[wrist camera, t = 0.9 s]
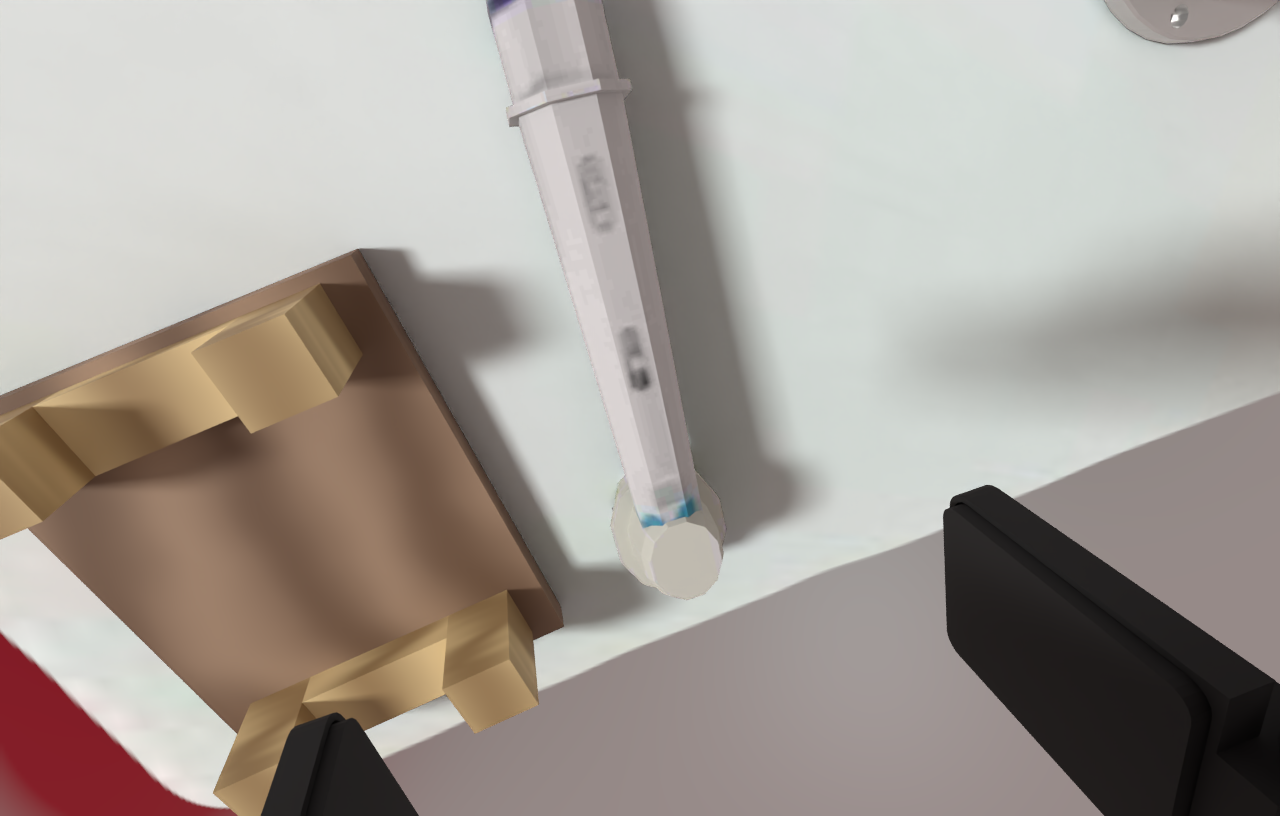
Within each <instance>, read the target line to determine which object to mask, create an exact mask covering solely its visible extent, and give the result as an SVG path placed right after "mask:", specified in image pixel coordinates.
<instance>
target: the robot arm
mask: <svg viewBox="0 0 1280 816" xmlns="http://www.w3.org/2000/svg"><path fill="white" fill-rule="evenodd" d="M1104 1H1105V2H1106V4H1107V6H1108V8H1109V9H1110V11H1111V12H1112V13H1113V14H1114V16H1115V17H1116V18H1117V19H1118V20H1119V21H1120V22H1121V23H1122V24H1123V25H1124V26H1125V27H1126V28H1127V29H1129V30H1131V31H1133V32H1134V33H1136V34H1138V35H1140V36H1141V37H1143V38H1145V39H1148V40H1153V41H1157V42H1162V43H1166V44H1169V43H1186V42H1194V41H1200V40H1205V39H1211V38H1216V37H1220V36H1222V35H1225V34H1227V33H1229V32H1232V31H1234V30H1237V29H1239V28H1241V27H1243V26H1245V25H1246V24H1248V23H1249V22H1251V21H1252V20H1254V19H1256V18H1257V17H1259V16H1260V15H1262V14H1263V13H1265V12H1266V11H1267V10H1269V9H1270V8H1271V7H1272V6H1273V5H1274V4H1275V3H1276V2H1277V1H1279V0H1104ZM943 525H944V556H945V585H946V616H947V633H948V636H949V640H950V642H951V644H952V646H953V647H954V649H955V651H956V652H957V653H958V654H959V656H960V657H961V658H962V659H963V660H964V661H965V662H966V663H967V664H968V665H969V667H971V669H972V670H973V671H974V672H975V673H976V674H977V675H978V676H979V678H980V679H981V680H982V681H983V682H984V683H985V684H986V685H987V687H988V688H989V689H990V690H991V691H992V692H993V693H994V694H995V695H996V696H997V697H998V699H999V700H1000V701H1001V702H1002V703H1003V704H1004V705H1005V706H1006V708H1007V709H1008V710H1009V711H1010V712H1011V713H1012V714H1013V715H1014V716H1015V717H1016V719H1017V720H1018V721H1019V722H1020V723H1021V724H1022V725H1023V726H1024V727H1025V729H1027V731H1028V732H1029V733H1030V734H1031V735H1032V736H1033V737H1034V738H1035V739H1036V741H1037V742H1038V743H1039V744H1040V745H1041V746H1042V747H1043V748H1044V750H1045V751H1046V752H1047V753H1048V754H1049V755H1050V756H1051V757H1052V758H1053V759H1054V761H1055V762H1056V763H1057V764H1058V765H1059V766H1060V767H1061V768H1062V769H1063V771H1064V772H1065V773H1066V774H1067V775H1068V776H1069V777H1070V778H1071V779H1072V781H1074V783H1075V784H1076V785H1077V786H1078V787H1079V788H1080V789H1081V790H1082V792H1083V793H1084V794H1085V795H1086V796H1087V797H1088V798H1089V799H1090V800H1091V802H1092V803H1093V804H1094V805H1095V806H1096V807H1097V808H1098V809H1099V810H1100V811H1101V813H1102V814H1103V815H1104V816H1280V684H1279V683H1277V682H1276V681H1275V680H1274V679H1272V678H1271V677H1270V676H1268V675H1267V674H1265V673H1264V672H1262V671H1261V670H1259V669H1258V668H1256V667H1255V666H1254V665H1252V664H1251V663H1249V662H1248V661H1246V660H1245V659H1244V658H1242V657H1241V656H1239V655H1238V654H1236V653H1235V652H1233V651H1232V650H1231V649H1229V648H1228V647H1226V646H1225V645H1223V644H1222V643H1220V642H1219V641H1218V640H1216V639H1215V638H1213V637H1212V636H1210V635H1209V634H1207V633H1206V632H1205V631H1203V630H1202V629H1200V628H1199V627H1197V626H1196V625H1194V624H1193V623H1192V622H1190V621H1189V620H1187V619H1186V618H1184V617H1183V616H1181V615H1180V614H1179V613H1177V612H1176V611H1174V610H1173V609H1171V608H1170V607H1168V606H1167V605H1166V604H1164V603H1163V602H1161V601H1160V600H1158V599H1157V598H1155V597H1154V596H1153V595H1151V594H1150V593H1148V592H1147V591H1145V590H1144V589H1143V588H1141V587H1140V586H1138V585H1137V584H1135V583H1134V582H1132V581H1131V580H1130V579H1128V578H1127V577H1125V576H1124V575H1122V574H1121V573H1119V572H1118V571H1117V570H1115V569H1114V568H1112V567H1111V566H1109V565H1108V564H1106V563H1105V562H1103V561H1102V560H1101V559H1099V558H1098V557H1096V556H1095V555H1093V554H1092V553H1091V552H1089V551H1088V550H1086V549H1085V548H1083V547H1082V546H1080V545H1079V544H1078V543H1076V542H1075V541H1073V540H1072V539H1070V538H1069V537H1067V536H1066V535H1065V534H1063V533H1062V532H1060V531H1059V530H1057V529H1056V528H1054V527H1053V526H1052V525H1050V524H1049V523H1047V522H1046V521H1044V520H1043V519H1041V518H1040V517H1039V516H1037V515H1036V514H1034V513H1033V512H1031V511H1030V510H1028V509H1027V508H1026V507H1024V506H1023V505H1021V504H1020V503H1018V502H1017V501H1015V500H1014V499H1013V498H1011V497H1010V496H1008V495H1007V494H1005V493H1004V492H1002V491H1001V490H1000V489H998V488H996V487H994V486H992V485H985V486H982V487H979V488H976V489H973V490H971V491H968V492H965V493H962V494H959V495H956V496H954V497H953V498H952V499H951V501H950V508H948V509H946V510H945V511H944V514H943ZM261 816H419V815H418V814H417V812H416V811H415V809H414V808H413V806H412V804H411V803H410V802H409V800H408V798H407V797H406V795H405V794H404V792H403V790H402V789H401V787H400V786H399V784H398V783H397V781H396V780H395V778H394V777H393V775H392V774H391V772H390V770H389V769H388V767H387V766H386V764H385V763H384V761H383V760H382V758H381V756H380V755H379V753H378V752H377V750H376V749H375V747H374V746H373V744H372V743H371V741H370V739H369V738H368V736H367V735H366V733H365V732H364V730H363V729H362V727H361V726H360V724H359V723H358V721H357V720H356V719H354V718H349V719H345V718H344V717H343V716H342V715H341V714H339V713H337V712H335V713H331V714H329V715H326V716H323V717H320V718H317V719H314V720H311V721H309V722H306V723H303V724H300V725H297V726H295V727H294V728H293V729H292V730H291V731H290V733H289V735H288V737H287V739H286V742H285V745H284V748H283V751H282V754H281V757H280V760H279V763H278V766H277V769H276V772H275V775H274V778H273V781H272V784H271V787H270V790H269V793H268V796H267V798H266V801H265V804H264V807H263V810H262V813H261Z"/></svg>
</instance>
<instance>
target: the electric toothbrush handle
mask: <svg viewBox="0 0 1280 816" xmlns="http://www.w3.org/2000/svg"><path fill="white" fill-rule="evenodd" d="M486 4H487V12H488V15H489V19H490V23H491V26H492V30H493V34H494V37H495V41H496V44H497V48H498V52H499V55H500V59H501V63H502V66H503V70H504V73H505V77H506V81H507V84H508V88H509V92H510V95H511V99H512V102H513V105H511V106H509V107H506V113H507V119H508V123H509V127H514V126H519V127H520V131H521V134H522V137H523V141H524V144H525V147H526V151H527V154H528V157H529V160H530V164H531V167H532V170H533V174H534V177H535V180H536V183H537V187H538V190H539V193H540V197H541V200H542V203H543V206H544V210H545V213H546V216H547V220H548V223H549V226H550V230H551V233H552V236H553V239H554V243H555V246H556V249H557V253H558V256H559V259H560V262H561V266H562V269H563V272H564V276H565V279H566V282H567V286H568V289H569V292H570V295H571V299H572V302H573V305H574V309H575V312H576V315H577V318H578V322H579V325H580V328H581V332H582V335H583V338H584V342H585V345H586V348H587V351H588V355H589V358H590V361H591V365H592V368H593V371H594V374H595V378H596V381H597V384H598V388H599V391H600V394H601V398H602V401H603V404H604V407H605V411H606V414H607V417H608V421H609V424H610V427H611V430H612V434H613V437H614V440H615V444H616V447H617V450H618V453H619V457H620V460H621V463H622V467H623V470H624V473H625V476H624V477H623V478H622V479H621V480H620V482H619V483H618V489H617V494H616V498H615V503H614V507H613V508H612V510H613V515H612V519H611V524H610V526H611V530H612V533H613V537H614V540H615V544H616V547H617V551H618V554H619V557H620V561H621V563H622V564H623V565H624V566H625V567H626V568H627V569H628V570H629V571H630V572H631V573H632V574H633V575H634V576H635V577H636V578H637V579H638V580H639V581H640V582H641V583H642V584H643V585H647V586H651V587H655V588H658V589H659V590H660V591H661V592H662V593H663V594H666V595H668V596H672V597H676V598H680V599H684V600H689V599H692V598H695V597H698V596H701V595H704V594H705V593H706V592H707V591H708V590H709V589H710V588H711V586H712V585H713V584H714V583H715V582H716V581H717V579H718V575H719V571H720V567H721V564H722V559H723V554H724V553H723V548H722V545H723V541H724V537H725V533H726V525H725V521H724V516H723V512H722V507H721V503H720V499H719V497H718V496H717V494H716V493H715V492H714V491H713V490H712V489H711V487H710V486H709V485H708V484H707V483H706V482H705V481H704V479H703V478H702V477H701V476H700V475H699V474H698V473H697V471H696V470H695V469H694V463H693V458H692V453H691V448H690V442H689V437H688V432H687V427H686V422H685V416H684V411H683V406H682V401H681V396H680V390H679V385H678V380H677V375H676V369H675V364H674V359H673V354H672V349H671V343H670V338H669V333H668V328H667V323H666V317H665V312H664V307H663V302H662V296H661V291H660V286H659V281H658V276H657V270H656V265H655V260H654V255H653V250H652V244H651V239H650V234H649V229H648V223H647V218H646V213H645V208H644V203H643V197H642V192H641V187H640V182H639V177H638V171H637V166H636V161H635V156H634V151H633V145H632V140H631V135H630V130H629V124H628V119H627V114H626V109H625V104H624V99H625V98H626V97H627V95H628V94H629V93H630V92H631V90H632V86H631V82H630V79H619V75H618V71H617V67H616V62H615V58H614V53H613V49H612V44H611V40H610V36H609V31H608V27H607V22H606V18H605V13H604V9H603V5H602V0H486Z"/></svg>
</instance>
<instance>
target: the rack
mask: <svg viewBox="0 0 1280 816" xmlns="http://www.w3.org/2000/svg"><path fill="white" fill-rule="evenodd" d="M26 528H28V529H29V530H30V531H31V532H32V533H33V534H34V535H35V536H36V537H37V538H38V539H39V540H40V541H41V542H42V543H43V544H44V545H45V546H46V547H47V548H48V549H49V550H50V551H51V552H52V553H53V554H54V555H55V556H56V557H57V558H58V559H59V560H60V561H61V562H62V563H64V564H65V565H66V566H67V567H68V568H69V569H70V570H71V571H72V572H73V573H74V574H75V575H76V576H77V577H78V578H79V579H80V580H81V581H82V582H83V583H84V584H85V585H86V586H87V587H88V588H89V589H90V590H91V591H92V592H93V593H94V594H95V595H96V596H97V597H98V598H99V599H100V600H101V601H102V602H103V603H104V604H105V605H106V606H107V607H108V608H109V609H110V610H111V611H112V612H113V613H114V614H115V615H116V616H118V617H119V618H120V619H121V620H122V621H123V622H124V623H125V624H126V625H127V626H128V627H129V628H130V629H131V630H132V631H133V632H134V633H135V634H136V635H137V636H138V637H139V638H140V639H141V640H142V641H143V642H144V643H145V644H146V645H147V646H148V647H149V648H150V649H151V650H152V651H153V652H154V653H155V654H156V655H157V656H158V657H159V658H160V659H161V660H162V661H163V662H164V663H165V664H166V665H167V666H168V667H169V668H171V669H172V670H173V671H174V672H175V673H176V674H177V675H178V676H179V677H180V678H181V679H182V680H183V681H184V682H185V683H186V684H187V685H188V686H189V687H190V688H191V689H192V690H193V691H194V692H195V693H196V694H197V695H198V696H199V697H200V698H201V699H202V700H203V701H204V702H205V703H206V704H207V705H208V706H209V707H210V708H211V709H212V710H213V711H214V712H215V713H216V714H217V715H218V716H219V717H220V718H221V719H222V720H223V721H225V722H226V723H227V724H228V725H229V726H230V727H231V728H232V729H233V730H234V731H235V732H236V733H237V737H236V739H235V741H234V744H233V746H232V749H231V751H230V753H229V756H228V758H227V760H226V763H225V765H224V768H223V770H222V772H221V775H220V777H219V779H218V782H217V784H216V787H215V789H214V791H213V794H214V795H216V796H217V797H218V798H219V799H220V800H221V801H222V802H223V803H225V804H226V805H227V806H228V807H229V808H230V809H231V810H232V811H234V812H235V813H236V814H237V815H238V816H261V813H262V810H263V807H264V804H265V801H266V798H267V796H268V793H269V790H270V787H271V784H272V781H273V778H274V775H275V772H276V769H277V766H278V763H279V760H280V757H281V754H282V751H283V748H284V745H285V742H286V739H287V737H288V735H289V733H290V731H291V730H292V729H293V728H294V727H295V726H297V725H300V724H303V723H306V722H309V721H311V720H314V719H317V718H320V717H323V716H326V715H329V714H331V713H335V712H337V713H339V714H341V715H342V716H343V717H344V718H345V719H349V718H354V719H356V720H357V721H358V723H359V724H360V726H361V727H362V729H363V730H364V731H365V730H367V729H369V728H372V727H374V726H376V725H378V724H381V723H383V722H385V721H387V720H389V719H392V718H394V717H396V716H398V715H401V714H403V713H405V712H407V711H409V710H412V709H414V708H416V707H418V706H421V705H423V704H425V703H427V702H429V701H432V700H434V699H436V698H438V697H440V696H443V695H445V694H446V695H447V697H448V698H449V699H450V701H451V702H452V704H453V705H454V706H455V708H456V709H457V710H458V712H459V713H460V714H461V716H462V717H463V718H464V720H465V721H466V722H467V724H468V725H469V726H470V728H471V729H472V730H473V732H474V733H478V732H480V731H482V730H484V729H486V728H488V727H491V726H493V725H495V724H497V723H500V722H502V721H504V720H506V719H508V718H510V717H513V716H515V715H517V714H519V713H522V712H524V711H526V710H528V709H530V708H533V707H535V706H537V705H539V701H538V690H537V678H536V667H535V656H534V644H533V640H535V639H537V638H540V637H542V636H544V635H546V634H548V633H551V632H553V631H555V630H557V629H560V628H562V627H564V624H563V617H562V611H561V606H560V604H559V602H558V601H557V599H556V597H555V595H554V594H553V592H552V590H551V588H550V587H549V585H548V583H547V581H546V579H545V578H544V576H543V574H542V572H541V571H540V569H539V567H538V565H537V564H536V562H535V560H534V558H533V557H532V555H531V553H530V551H529V549H528V548H527V546H526V544H525V542H524V541H523V539H522V537H521V535H520V534H519V532H518V530H517V528H516V526H515V525H514V523H513V521H512V519H511V518H510V516H509V514H508V512H507V511H506V509H505V507H504V505H503V503H502V502H501V500H500V498H499V496H498V495H497V493H496V491H495V489H494V488H493V486H492V484H491V482H490V481H489V479H488V477H487V475H486V473H485V472H484V470H483V468H482V466H481V465H480V463H479V461H478V459H477V458H476V456H475V454H474V452H473V450H472V449H471V447H470V445H469V443H468V442H467V440H466V438H465V436H464V435H463V433H462V431H461V429H460V427H459V426H458V424H457V422H456V420H455V419H454V417H453V415H452V413H451V412H450V410H449V408H448V406H447V405H446V403H445V401H444V399H443V397H442V396H441V394H440V392H439V390H438V389H437V387H436V385H435V383H434V382H433V380H432V378H431V376H430V374H429V373H428V371H427V369H426V367H425V366H424V364H423V362H422V360H421V359H420V357H419V355H418V353H417V351H416V350H415V348H414V346H413V344H412V343H411V341H410V339H409V337H408V336H407V334H406V332H405V330H404V329H403V327H402V325H401V323H400V321H399V320H398V318H397V316H396V314H395V313H394V311H393V309H392V307H391V306H390V304H389V302H388V300H387V298H386V297H385V295H384V293H383V291H382V290H381V288H380V286H379V284H378V283H377V281H376V279H375V277H374V275H373V274H372V272H371V270H370V268H369V267H368V265H367V263H366V261H365V260H364V258H363V256H362V254H361V253H360V251H359V249H356V250H354V251H351V252H349V253H346V254H344V255H341V256H339V257H336V258H334V259H332V260H329V261H327V262H324V263H322V264H319V265H317V266H315V267H312V268H310V269H307V270H305V271H302V272H300V273H298V274H295V275H293V276H290V277H288V278H285V279H283V280H281V281H278V282H276V283H273V284H271V285H268V286H266V287H263V288H261V289H259V290H256V291H254V292H251V293H249V294H246V295H244V296H242V297H239V298H237V299H234V300H232V301H229V302H227V303H225V304H222V305H220V306H217V307H215V308H212V309H210V310H208V311H205V312H203V313H200V314H198V315H195V316H193V317H190V318H188V319H186V320H183V321H181V322H178V323H176V324H173V325H171V326H169V327H166V328H164V329H161V330H159V331H156V332H154V333H152V334H149V335H147V336H144V337H142V338H139V339H137V340H134V341H132V342H130V343H127V344H125V345H122V346H120V347H117V348H115V349H113V350H110V351H108V352H105V353H103V354H100V355H98V356H96V357H93V358H91V359H88V360H86V361H83V362H81V363H79V364H76V365H74V366H71V367H69V368H66V369H64V370H61V371H59V372H57V373H54V374H52V375H49V376H47V377H44V378H42V379H40V380H37V381H35V382H32V383H30V384H27V385H25V386H23V387H20V388H18V389H15V390H13V391H10V392H8V393H6V394H3V395H1V396H0V539H3V538H5V537H7V536H10V535H12V534H15V533H17V532H19V531H22V530H24V529H26Z"/></svg>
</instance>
